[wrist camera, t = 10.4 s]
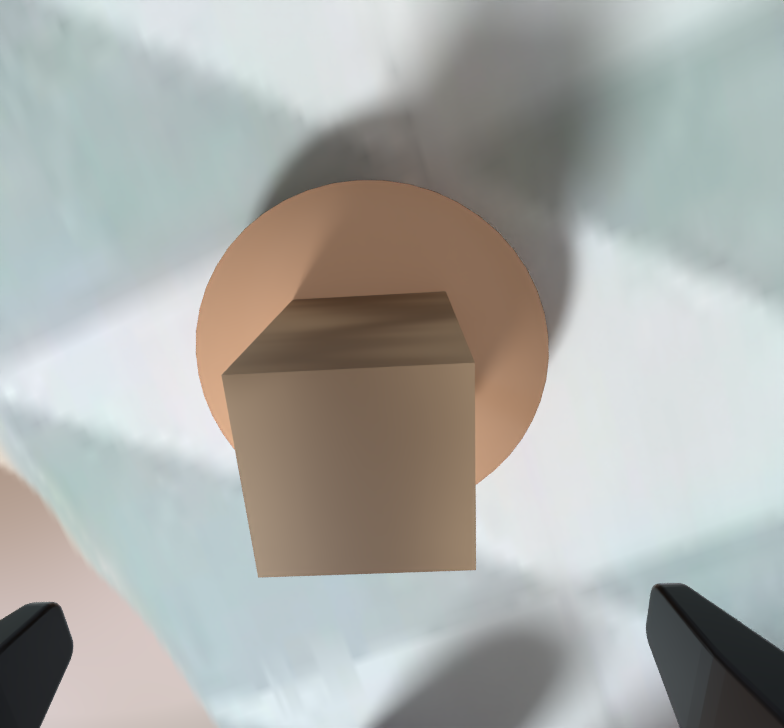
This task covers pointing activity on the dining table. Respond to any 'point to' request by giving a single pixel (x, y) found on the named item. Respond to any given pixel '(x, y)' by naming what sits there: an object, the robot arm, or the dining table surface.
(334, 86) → the dining table surface
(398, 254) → the terracotta disc
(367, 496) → the walnut block
